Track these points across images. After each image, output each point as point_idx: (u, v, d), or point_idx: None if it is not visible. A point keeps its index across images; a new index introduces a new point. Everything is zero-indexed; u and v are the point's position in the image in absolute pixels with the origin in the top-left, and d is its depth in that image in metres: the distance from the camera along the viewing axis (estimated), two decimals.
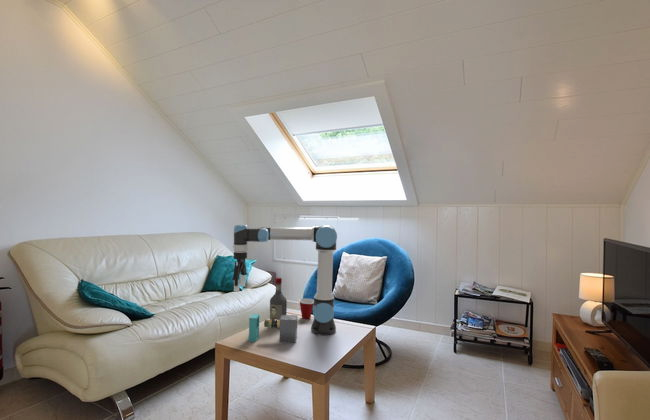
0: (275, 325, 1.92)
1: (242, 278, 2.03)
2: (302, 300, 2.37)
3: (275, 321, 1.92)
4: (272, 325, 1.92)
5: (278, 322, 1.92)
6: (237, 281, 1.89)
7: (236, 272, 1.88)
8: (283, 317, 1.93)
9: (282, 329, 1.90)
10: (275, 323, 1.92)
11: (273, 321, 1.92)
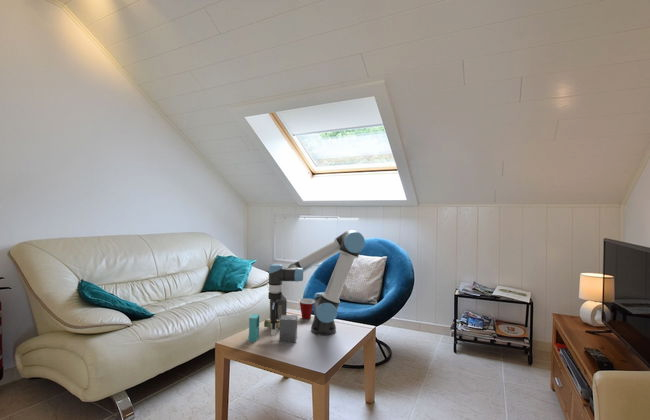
0: None
1: None
2: (302, 300, 2.37)
3: None
4: None
5: (278, 322, 1.92)
6: (274, 324, 1.90)
7: (273, 316, 1.88)
8: (283, 317, 1.93)
9: (282, 329, 1.90)
10: None
11: None
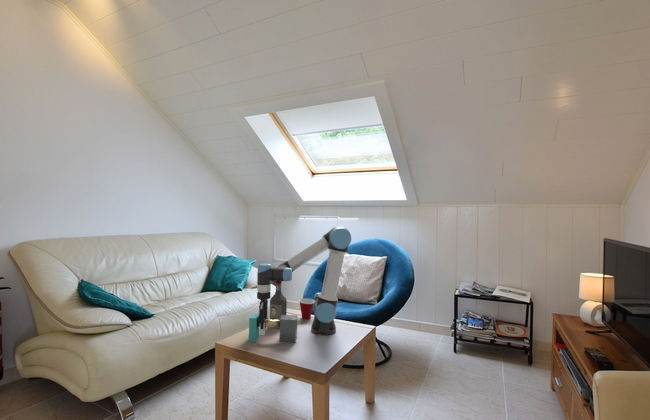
0: None
1: None
2: (302, 300, 2.37)
3: (264, 321, 1.93)
4: None
5: (267, 322, 1.92)
6: (263, 324, 1.90)
7: (261, 316, 1.88)
8: (283, 317, 1.93)
9: (282, 329, 1.90)
10: None
11: None
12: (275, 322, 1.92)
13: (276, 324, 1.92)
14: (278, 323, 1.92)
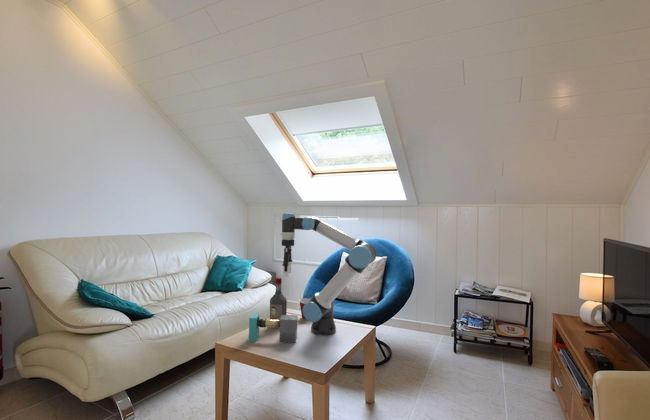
0: (263, 325, 1.92)
1: (288, 265, 2.10)
2: (302, 300, 2.37)
3: (263, 321, 1.93)
4: (260, 325, 1.92)
5: (266, 322, 1.92)
6: (287, 267, 1.96)
7: (286, 258, 1.95)
8: (283, 317, 1.93)
9: (282, 329, 1.90)
10: (263, 323, 1.92)
11: (261, 321, 1.93)
12: (275, 322, 1.92)
13: (276, 324, 1.92)
14: (278, 323, 1.92)
